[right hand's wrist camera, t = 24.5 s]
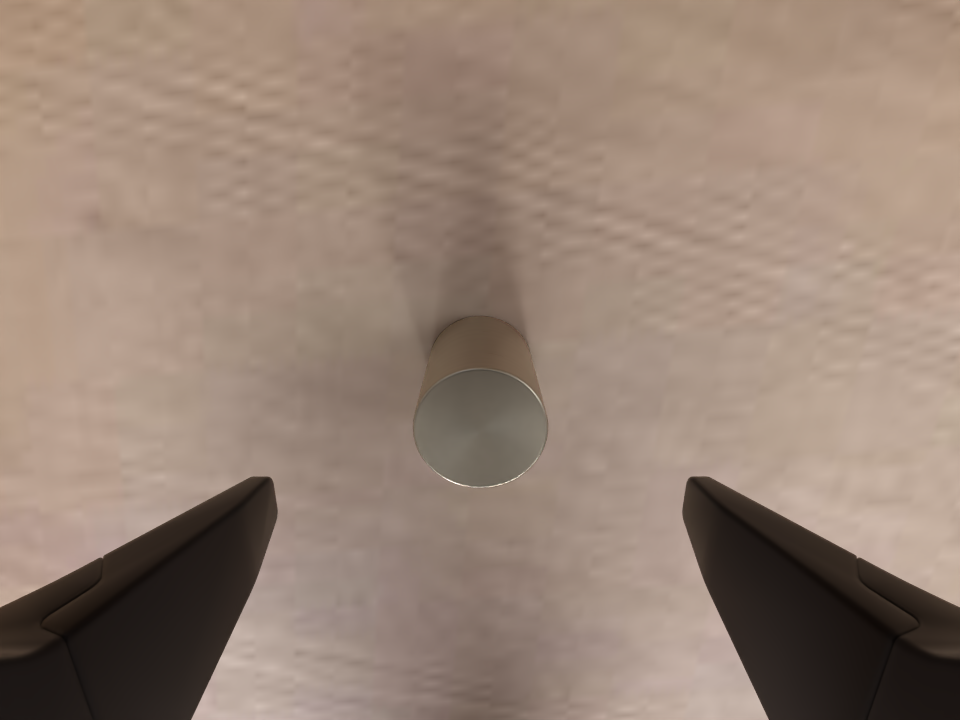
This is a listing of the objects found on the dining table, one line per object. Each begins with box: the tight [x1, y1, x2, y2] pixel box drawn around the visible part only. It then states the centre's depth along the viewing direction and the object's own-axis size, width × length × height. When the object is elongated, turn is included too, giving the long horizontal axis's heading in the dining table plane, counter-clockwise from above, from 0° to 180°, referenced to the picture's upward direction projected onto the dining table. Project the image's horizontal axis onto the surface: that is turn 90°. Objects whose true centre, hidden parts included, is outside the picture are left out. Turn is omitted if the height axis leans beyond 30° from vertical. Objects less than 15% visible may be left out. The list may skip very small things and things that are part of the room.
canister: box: [413, 316, 548, 488], centre depth 16 cm, size 4×4×5 cm
